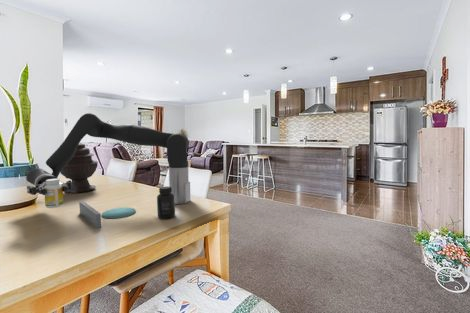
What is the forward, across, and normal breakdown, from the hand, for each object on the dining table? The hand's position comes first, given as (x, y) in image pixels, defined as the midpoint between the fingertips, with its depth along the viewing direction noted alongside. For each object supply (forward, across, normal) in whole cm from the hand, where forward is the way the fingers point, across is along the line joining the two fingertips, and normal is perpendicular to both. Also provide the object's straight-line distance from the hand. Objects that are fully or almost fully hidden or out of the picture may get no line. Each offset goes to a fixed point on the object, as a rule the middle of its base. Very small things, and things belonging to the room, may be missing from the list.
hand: (54, 190), depth 87 cm
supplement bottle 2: (+15, +34, +15) cm, 40 cm away
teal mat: (-3, +22, +14) cm, 26 cm away
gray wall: (-3, +11, +14) cm, 18 cm away
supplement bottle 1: (-3, 0, +6) cm, 7 cm away
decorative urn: (-63, +20, +14) cm, 68 cm away
